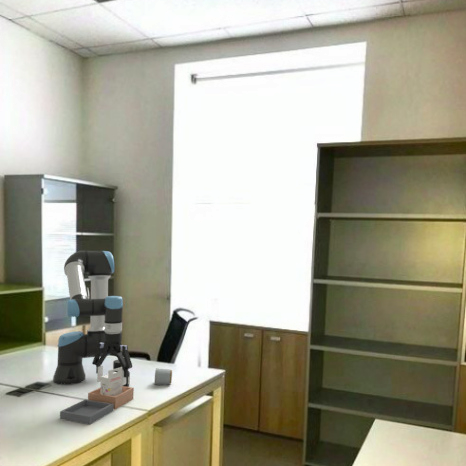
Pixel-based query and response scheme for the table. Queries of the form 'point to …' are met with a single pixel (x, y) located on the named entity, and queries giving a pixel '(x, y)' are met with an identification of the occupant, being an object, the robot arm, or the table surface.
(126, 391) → the square wooden frame
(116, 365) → the ink bottle
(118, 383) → the ink cartridge box
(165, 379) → the ceramic mug
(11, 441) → the table surface
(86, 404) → the tray
